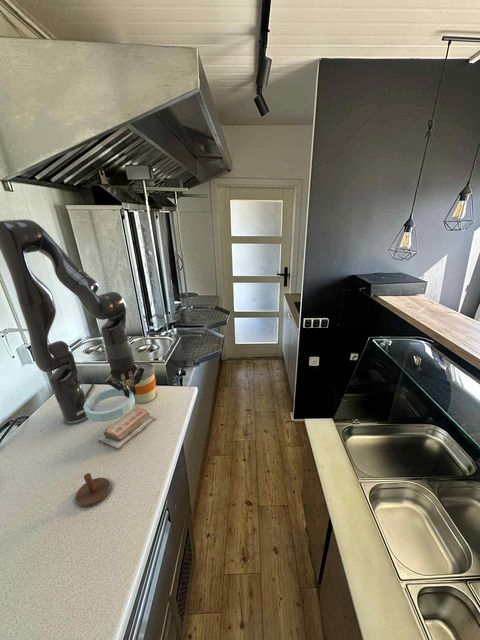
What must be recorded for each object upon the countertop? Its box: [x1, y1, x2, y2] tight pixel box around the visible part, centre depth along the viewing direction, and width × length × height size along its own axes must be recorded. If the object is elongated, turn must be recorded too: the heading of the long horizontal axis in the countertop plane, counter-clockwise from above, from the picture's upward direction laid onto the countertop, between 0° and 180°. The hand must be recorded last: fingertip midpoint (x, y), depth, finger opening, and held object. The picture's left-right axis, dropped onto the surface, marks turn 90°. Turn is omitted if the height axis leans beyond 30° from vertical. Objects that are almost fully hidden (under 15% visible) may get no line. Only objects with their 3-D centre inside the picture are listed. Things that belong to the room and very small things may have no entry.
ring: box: [83, 387, 136, 423], centre depth 98 cm, size 15×15×3 cm
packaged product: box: [98, 406, 155, 449], centre depth 110 cm, size 18×5×10 cm
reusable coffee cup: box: [126, 361, 157, 404], centre depth 128 cm, size 13×13×15 cm
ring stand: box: [75, 472, 111, 508], centre depth 85 cm, size 9×9×8 cm
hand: (130, 395), depth 103 cm, fingers closed on ring, 1 cm apart
